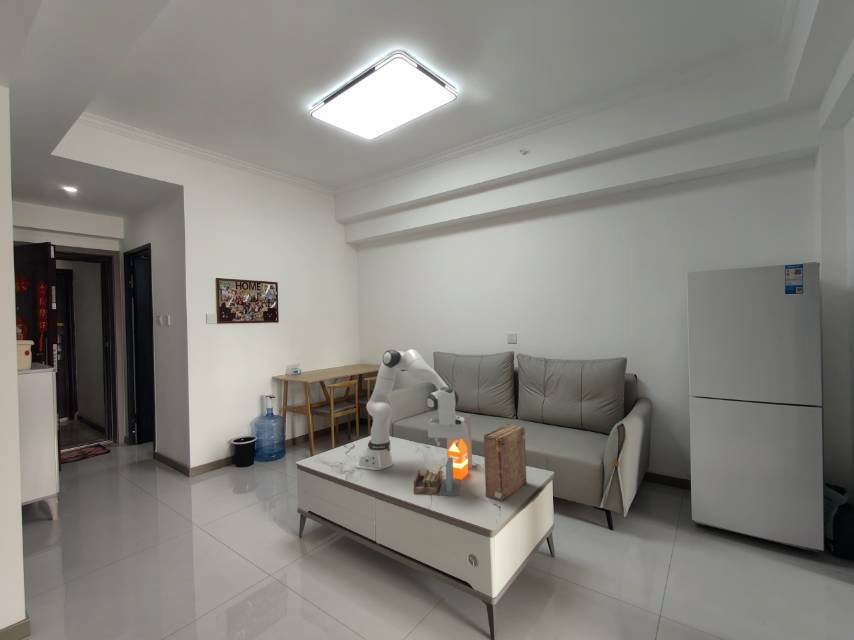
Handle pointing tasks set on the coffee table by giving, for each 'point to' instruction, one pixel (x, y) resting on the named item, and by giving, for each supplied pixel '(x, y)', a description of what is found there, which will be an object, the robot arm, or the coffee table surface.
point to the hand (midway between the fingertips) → (448, 446)
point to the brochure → (466, 441)
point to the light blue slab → (449, 474)
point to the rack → (425, 489)
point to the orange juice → (459, 459)
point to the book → (504, 461)
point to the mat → (454, 490)
